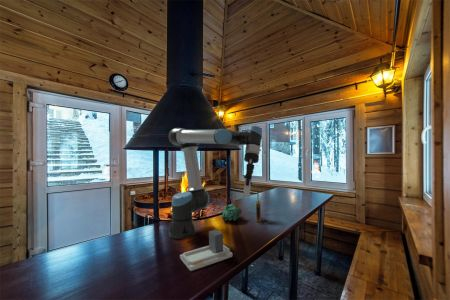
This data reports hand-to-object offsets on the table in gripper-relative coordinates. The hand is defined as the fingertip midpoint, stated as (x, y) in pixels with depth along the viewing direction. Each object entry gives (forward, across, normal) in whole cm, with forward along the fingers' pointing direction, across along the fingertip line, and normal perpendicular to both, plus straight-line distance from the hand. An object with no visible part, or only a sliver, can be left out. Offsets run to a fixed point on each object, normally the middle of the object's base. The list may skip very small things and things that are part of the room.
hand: (246, 194), depth 97 cm
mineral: (+14, +49, +10) cm, 52 cm away
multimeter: (+11, +47, -13) cm, 50 cm away
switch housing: (+30, -2, +14) cm, 33 cm away
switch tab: (+27, 0, +10) cm, 29 cm away
